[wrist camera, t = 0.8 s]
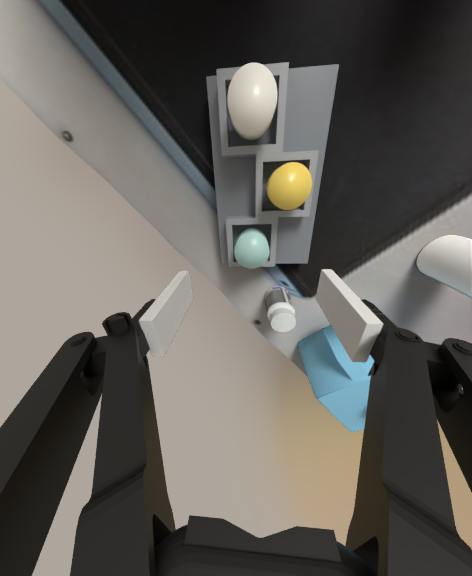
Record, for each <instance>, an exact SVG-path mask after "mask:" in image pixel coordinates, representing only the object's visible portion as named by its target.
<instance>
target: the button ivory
mask: <svg viewBox="0 0 472 576" xmlns="http://www.w3.org/2000/svg"><path fill="white" fill-rule="evenodd" d="M227 102H228V109H229V113H230V116H231V119H232V123H233V126H234V128H235V130H236V132H237V133H238V134H239V135H240V136H241V137H242V138H244V139H246V140H256V139H258V138H260V137H261V136H263V135H264V134H265V133H266V131H267V130H268V128H269V126H270V124H271V121H272V118H273V114H274V111H275V108H276V104H277V85H276V82H275V79H274V76H273V75H272V73H271V72H270V70H269V69H268V68H267V67H266V66H264V65H262V64H260V63H248V64H245V65H244V66H242V67H241V68H240V69H239V70H238V71H237V72H236V73H235V75H234V76H233V78H232V80H231V82H230V85H229V89H228V96H227Z"/></svg>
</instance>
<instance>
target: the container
mask: <svg viewBox="0 0 472 576" xmlns="http://www.w3.org/2000/svg"><path fill="white" fill-rule="evenodd" d="M298 347H299V352H300V355H301V359H302V362H303V365H304V368H305V371H306V373H307V376H308V379H309V381H310V384H311V386H312V389H313V392H314V394H315V397H316V398H317V400H318V401H319V402H320V403H321V404H322V405H323V406H324V407H325V408H326V409H327V410H328V411H329V412H330V413H331V414H332V415H333V416H335V418H336V419H337V420H339V421H340V422H341V423H342V424H343V425H344V426H345V427H346V428H347V429H348V430H349V431H351V432H355V431H360V430H364V427H365V419H366V411H367V403H368V394H369V386H370V378H371V376H368V374H369V371H370V369H371V367H372V365H373V363H374V360H373V358H372V357H371V355H370V356H369V358H368V360H367V362H352V361H351V359H350V358H349V356H348V354H347V352H346V351H345V349H344V347H343V345H342V344H341V342H340V340H339V338H338V337H337V335H336V333H335V331H334V330H333V328H332V326H331V325H329V326H327V327H325V328H323V329H321V330H319V331H318V332H316V333H314V334H312V335H310V336H308V337H306V338H304V339H302V340H301V341H299V342H298Z"/></svg>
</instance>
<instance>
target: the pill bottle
mask: <svg viewBox="0 0 472 576" xmlns="http://www.w3.org/2000/svg"><path fill="white" fill-rule="evenodd" d="M265 303H266V310H267V317H268V319H269V321H270V323H271V327H272V328H273V329H274V330H275V331H277V332H288V331H290V330H292V329H293V328H294V326H295V324H296V319H295V309H294V307H293V304H292V301H291V298H290V296H289V293H288V291H287V290H286V289H285V288H284V287H281V286H273V287H271V288H269V289H268V290H267V291H266V293H265Z"/></svg>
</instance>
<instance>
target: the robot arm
mask: <svg viewBox="0 0 472 576" xmlns="http://www.w3.org/2000/svg"><path fill="white" fill-rule="evenodd" d="M192 300H193V293H192V286H191V281H190V275H189V271H179V273H178V274H177V275H176V276H175V277H174V278H173V280H172V281H171V282H170V283H169V285H168V286H167V287H166V288H165V289H164V291H163V292H162V293H161V294H160V295H159V297H158V298H157V299H152V300H151V301H149V302H147V303H146V304H145V305H144V306H143V307H142V309H140V310H139V312H138V313H137V314H136V315H135V316H134V317H133V318H132V319H131V316H130V314H129V313H126V312H121V313H116V314H114V315H111V316H110V317H108V318H106V319H105V320H104V321H103V323H102V325H103V327H104V329H105V331H106V333H107V335H108V336H103V337H98V338H95V337H94V335H93V333H91V332H83V333H79V334H76V335H74V336H72V337H71V338H69V339H68V340H67V341H66V342H65V343H64V344H63V345H62V347H61V348H60V349H59V351H58V352H57V353H56V355H55V356H54V357H53V359H52V360H51V361H50V363H49V364H48V365H47V366H46V368H45V369H44V370H43V372H42V373H41V375H40V376H39V377H38V378H37V380H36V381H35V382H34V384H33V385H32V386H31V388H30V389H29V390H28V392H27V393H26V394H25V396H24V397H23V398H22V400H21V401H20V402H19V404H18V405H17V406H16V408H15V409H14V410H13V412H12V413H11V414H10V416H9V417H8V418H7V420H6V421H5V422H4V424H3V425H2V426H1V428H0V576H32V573H33V571H34V568H35V566H36V563H37V560H38V558H39V555H40V552H41V550H42V547H43V545H44V542H45V540H46V537H47V534H48V532H49V529H50V527H51V524H52V521H53V519H54V516H55V514H56V511H57V508H58V506H59V503H60V501H61V498H62V495H63V493H64V490H65V488H66V485H67V483H68V480H69V477H70V475H71V472H72V470H73V467H74V464H75V462H76V459H77V457H78V454H79V451H80V449H81V446H82V443H83V441H84V438H85V436H86V433H87V430H88V428H89V425H90V423H91V420H92V418H93V415H94V412H95V410H96V407H97V405H98V402H99V399H100V397H101V394H102V401H101V410H100V420H99V429H98V439H97V449H96V459H95V468H94V478H93V488H92V495H91V498H90V500H89V502H88V503H87V504H86V505H85V506H84V507H83V509H82V511H81V514H80V516H79V520H78V525H77V529H76V536H75V544H74V551H73V558H72V566H71V573H70V576H472V550H471V548H470V547H469V546H468V545H467V544H466V543H465V542H464V541H463V540H462V539H461V538H460V537H459V535H458V533H457V530H456V526H455V522H454V516H453V510H452V504H451V499H450V493H449V487H448V481H447V475H446V469H445V464H444V458H443V452H442V447H441V441H440V435H439V429H438V423H437V419H438V422H439V424H440V426H441V428H442V430H443V432H444V434H445V437H446V439H447V441H448V443H449V445H450V447H451V449H452V451H453V454H454V456H455V458H456V460H457V462H458V464H459V466H460V468H461V470H462V473H463V475H464V477H465V479H466V481H467V483H468V486H469V488H470V490H471V492H472V344H471V343H469V342H466V341H463V340H459V339H454V338H448V339H445V340H444V342H443V343H442V344H441V345H438V344H433V343H429V342H424V341H423V340H422V339H421V338H420V337H419V336H418V335H417V334H415V333H413V332H411V331H409V330H406V329H402V328H397V327H396V326H395V325H394V324H393V323H392V322H391V321H390V320H389V319H388V318H387V317H386V316H385V315H384V314H383V313H382V312H381V311H380V310H378V308H377V307H376V306H375V305H374V304H372V303H370V302H369V301H367V300H360V299H359V298H358V297H357V296H356V294H355V293H354V292H353V291H352V290H351V289H350V288H349V287H348V286H347V285H346V284H345V283H344V282H343V281H342V280H341V279H340V278H339V277H338V276H337V275H336V274H335V273H334V271H333V270H332V269H322V270H321V275H320V280H319V285H318V290H317V295H316V300H317V302H318V303H319V305H320V307H321V309H322V310H323V312H324V314H325V316H326V317H327V319H328V321H329V323H330V324H331V326H332V328H333V330H334V331H335V333H336V335H337V337H338V338H339V340H340V342H341V344H342V345H343V347H344V349H345V351H346V352H347V354H348V356H349V358H350V359H351V361H352V362H367V360H368V358H369V356H370V355H371V357H372V358H373V360H374V363H373V365H372V367H371V369H370V371H369V374H368V376H371V378H370V386H369V394H368V403H367V411H366V419H365V427H364V435H363V443H362V451H361V460H360V468H359V476H358V483H357V491H356V499H355V508H354V513H353V517H352V520H351V523H350V526H349V530H348V534H347V541H346V546H344V545H343V544H341V543H339V542H337V541H336V538H335V533H334V530H328V529H318V528H308V527H298V526H296V527H293V528H291V529H287V530H284V531H281V532H279V533H276V534H273V535H270V536H267V537H264V538H258V537H255V536H254V535H251V534H250V533H248V532H246V531H244V530H243V529H241V528H239V527H237V526H235V525H233V524H232V523H230V522H228V521H226V520H224V519H220V518H209V517H200V516H189V520H188V525H185V526H183V527H181V528H179V529H177V530H176V529H175V523H174V518H173V513H172V509H171V505H170V502H169V498H168V493H167V487H166V481H165V474H164V467H163V460H162V454H161V447H160V440H159V433H158V427H157V420H156V413H155V406H154V399H153V392H152V385H151V379H150V372H149V365H148V359H147V356H146V354H147V352H148V351H149V349H150V352H151V355H152V356H165V354H166V351H167V349H168V348H169V346H170V344H171V342H172V340H173V338H174V336H175V334H176V332H177V330H178V328H179V326H180V324H181V322H182V320H183V318H184V316H185V314H186V312H187V310H188V308H189V306H190V304H191V302H192ZM461 388H463V390H462V389H461Z"/></svg>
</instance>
